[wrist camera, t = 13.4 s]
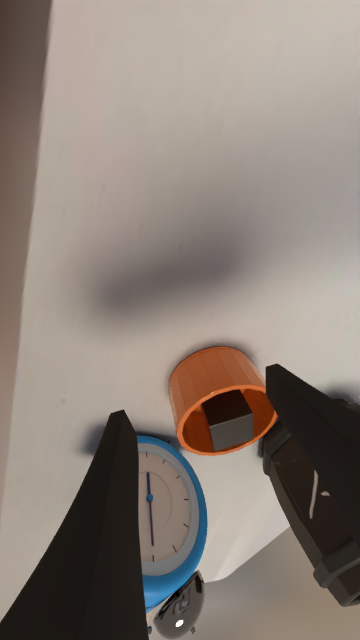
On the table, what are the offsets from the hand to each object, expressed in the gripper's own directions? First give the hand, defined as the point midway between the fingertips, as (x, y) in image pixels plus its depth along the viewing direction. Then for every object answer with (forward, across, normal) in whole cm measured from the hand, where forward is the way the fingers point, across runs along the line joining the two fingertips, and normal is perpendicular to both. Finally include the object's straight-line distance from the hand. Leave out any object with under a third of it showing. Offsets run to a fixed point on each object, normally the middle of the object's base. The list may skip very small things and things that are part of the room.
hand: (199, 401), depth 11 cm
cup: (+10, -3, +11) cm, 15 cm away
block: (+10, -3, +11) cm, 15 cm away
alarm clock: (+11, +8, +19) cm, 23 cm away
